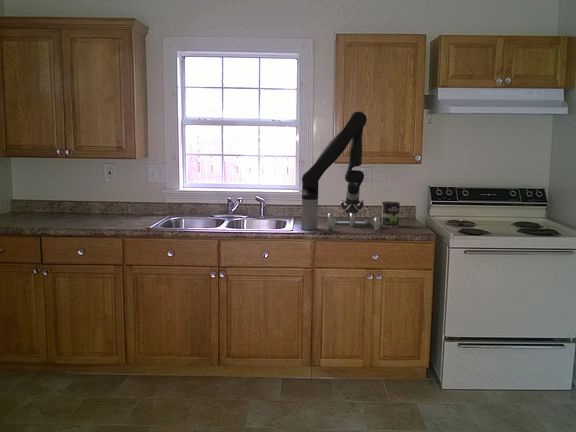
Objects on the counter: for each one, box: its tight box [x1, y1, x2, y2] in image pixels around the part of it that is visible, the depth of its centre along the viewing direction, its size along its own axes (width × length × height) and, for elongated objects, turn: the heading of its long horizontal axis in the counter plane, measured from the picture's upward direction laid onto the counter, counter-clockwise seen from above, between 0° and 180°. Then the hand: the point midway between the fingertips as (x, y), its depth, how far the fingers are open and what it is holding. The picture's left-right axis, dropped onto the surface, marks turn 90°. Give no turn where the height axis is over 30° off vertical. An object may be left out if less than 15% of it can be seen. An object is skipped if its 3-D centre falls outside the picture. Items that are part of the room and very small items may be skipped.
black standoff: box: [346, 207, 357, 221], centre depth 334 cm, size 5×5×10 cm
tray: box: [333, 218, 370, 227], centre depth 335 cm, size 20×18×2 cm
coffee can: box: [381, 201, 400, 228], centre depth 327 cm, size 10×10×14 cm
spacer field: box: [327, 212, 381, 233], centre depth 315 cm, size 29×18×8 cm, turn 87°
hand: (351, 212), depth 336 cm, fingers closed on black standoff, 5 cm apart
